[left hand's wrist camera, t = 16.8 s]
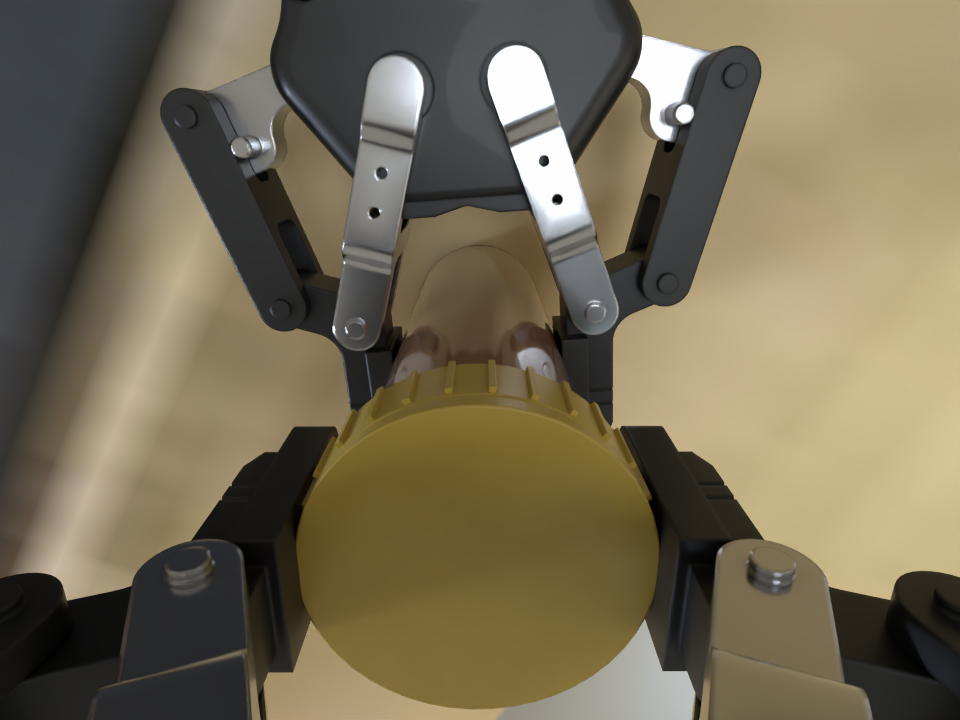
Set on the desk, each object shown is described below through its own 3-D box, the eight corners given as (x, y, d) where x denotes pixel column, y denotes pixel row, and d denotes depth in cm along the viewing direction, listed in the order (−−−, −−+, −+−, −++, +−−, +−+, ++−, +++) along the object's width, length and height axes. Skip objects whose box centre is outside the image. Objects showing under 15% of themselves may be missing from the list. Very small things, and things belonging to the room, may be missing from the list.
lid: (253, 448, 10) (212, 503, 9) (553, 297, 9) (568, 330, 8) (417, 675, 12) (408, 757, 10) (686, 564, 11) (720, 635, 9)
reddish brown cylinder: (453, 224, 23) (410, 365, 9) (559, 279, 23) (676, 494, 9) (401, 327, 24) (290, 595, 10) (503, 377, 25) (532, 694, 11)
